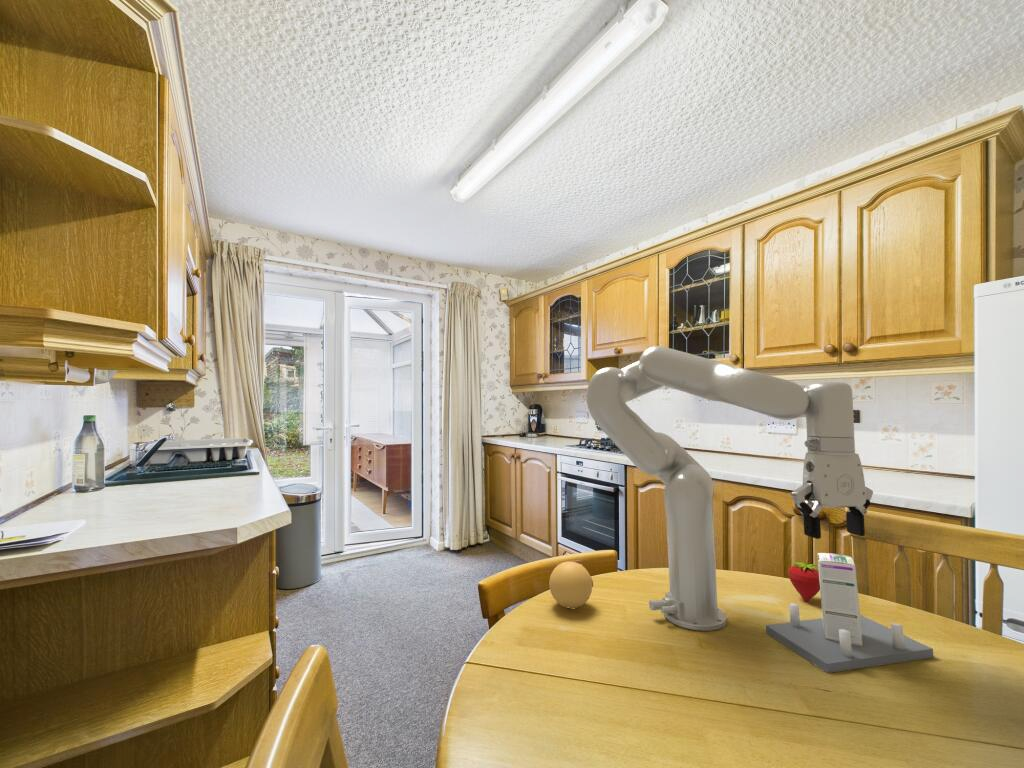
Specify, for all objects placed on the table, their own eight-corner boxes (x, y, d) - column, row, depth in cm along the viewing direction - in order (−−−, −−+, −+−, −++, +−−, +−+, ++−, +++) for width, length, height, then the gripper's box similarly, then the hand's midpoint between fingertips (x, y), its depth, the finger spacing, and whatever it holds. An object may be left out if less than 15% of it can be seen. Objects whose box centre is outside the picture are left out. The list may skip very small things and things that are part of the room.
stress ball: (577, 623, 96) (607, 587, 99) (546, 589, 96) (577, 554, 99) (564, 611, 105) (592, 579, 108) (536, 580, 106) (564, 549, 109)
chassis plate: (827, 672, 74) (825, 639, 75) (765, 632, 88) (764, 604, 89) (933, 657, 78) (930, 625, 79) (858, 621, 92) (856, 594, 92)
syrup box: (863, 647, 79) (857, 564, 80) (823, 638, 83) (818, 559, 84) (859, 633, 84) (853, 555, 85) (821, 626, 87) (816, 551, 88)
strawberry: (803, 592, 107) (800, 550, 108) (832, 605, 100) (829, 560, 100) (782, 595, 106) (780, 552, 106) (810, 608, 98) (807, 562, 99)
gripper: (808, 448, 81) (811, 543, 80) (887, 446, 84) (891, 538, 83) (776, 445, 88) (779, 532, 87) (850, 443, 91) (854, 528, 90)
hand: (834, 535), depth 85 cm, fingers open, 9 cm apart
